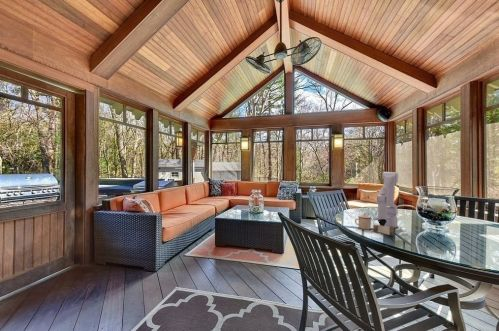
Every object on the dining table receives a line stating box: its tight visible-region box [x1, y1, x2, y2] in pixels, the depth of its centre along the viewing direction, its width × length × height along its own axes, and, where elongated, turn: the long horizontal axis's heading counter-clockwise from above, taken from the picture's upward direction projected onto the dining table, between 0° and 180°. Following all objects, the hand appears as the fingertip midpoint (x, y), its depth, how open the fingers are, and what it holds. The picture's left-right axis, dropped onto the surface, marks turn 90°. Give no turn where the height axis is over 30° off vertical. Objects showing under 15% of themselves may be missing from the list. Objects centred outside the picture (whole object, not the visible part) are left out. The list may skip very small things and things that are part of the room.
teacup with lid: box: [354, 212, 372, 230], centre depth 186 cm, size 12×9×12 cm
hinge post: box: [389, 226, 395, 237], centre depth 167 cm, size 2×2×7 cm
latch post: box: [372, 224, 379, 233], centre depth 177 cm, size 2×2×5 cm, turn 26°
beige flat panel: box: [373, 223, 390, 235], centre depth 174 cm, size 12×1×5 cm, turn 27°
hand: (381, 229), depth 176 cm, fingers closed
